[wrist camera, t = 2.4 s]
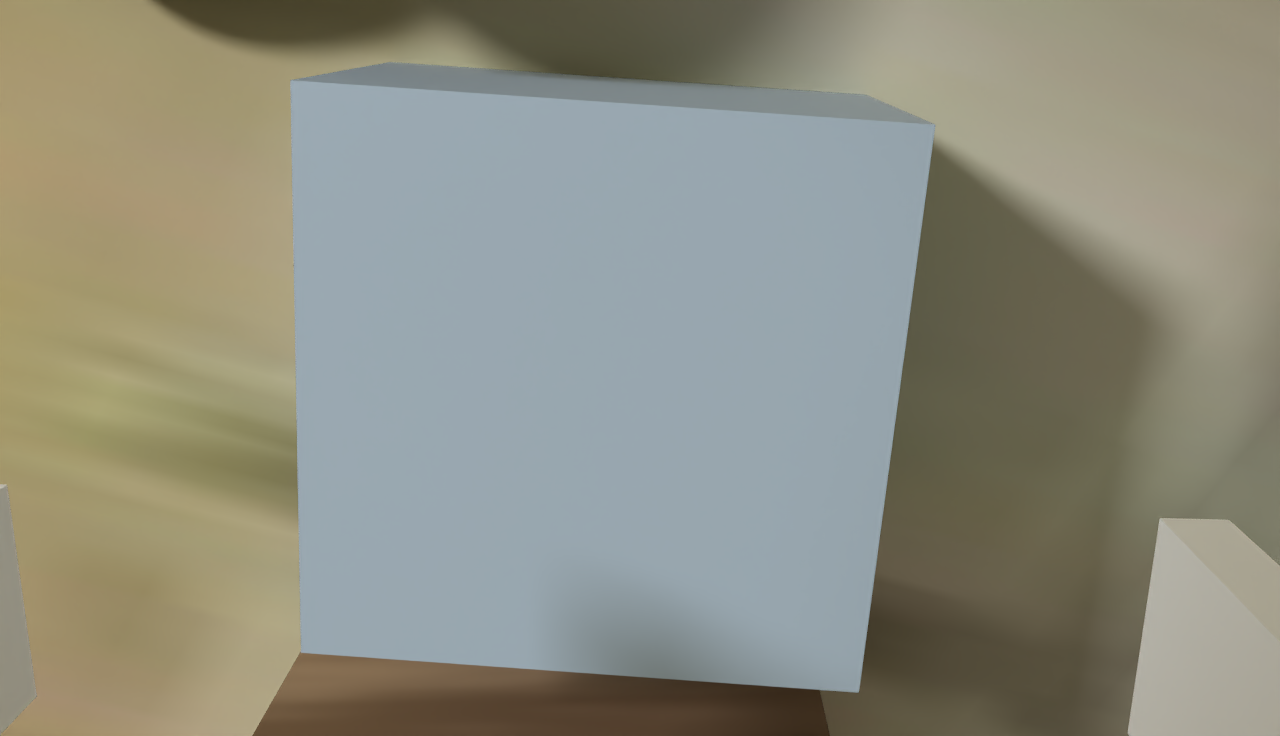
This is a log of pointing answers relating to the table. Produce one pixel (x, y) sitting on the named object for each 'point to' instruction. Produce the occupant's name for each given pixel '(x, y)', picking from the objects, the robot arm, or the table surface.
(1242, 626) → the robot arm
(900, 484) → the table surface
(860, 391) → the light blue box
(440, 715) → the walnut base
